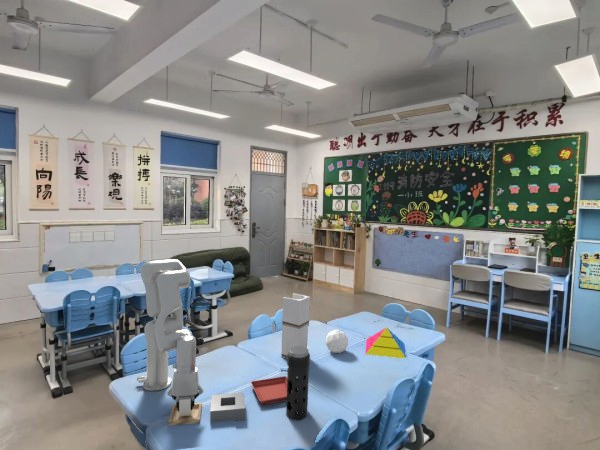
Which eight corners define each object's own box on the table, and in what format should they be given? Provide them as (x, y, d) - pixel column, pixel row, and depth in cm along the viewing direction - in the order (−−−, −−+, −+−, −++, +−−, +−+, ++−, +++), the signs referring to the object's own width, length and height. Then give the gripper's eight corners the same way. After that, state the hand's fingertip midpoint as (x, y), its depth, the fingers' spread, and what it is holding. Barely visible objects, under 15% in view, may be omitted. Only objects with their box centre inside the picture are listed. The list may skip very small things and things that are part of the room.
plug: (179, 416, 146) (179, 397, 145) (180, 409, 150) (180, 391, 150) (190, 415, 147) (190, 396, 146) (191, 408, 151) (191, 390, 150)
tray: (168, 427, 141) (168, 422, 141) (172, 409, 153) (172, 404, 153) (199, 424, 144) (199, 419, 143) (201, 406, 155) (201, 402, 155)
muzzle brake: (300, 404, 160) (281, 412, 153) (302, 343, 157) (282, 348, 151) (314, 414, 152) (294, 423, 146) (316, 350, 150) (296, 357, 144)
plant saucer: (250, 387, 173) (250, 381, 173) (285, 381, 179) (286, 375, 179) (259, 408, 156) (259, 401, 156) (298, 401, 162) (298, 394, 162)
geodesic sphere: (335, 334, 227) (329, 321, 220) (355, 340, 219) (349, 326, 212) (325, 353, 219) (318, 340, 211) (345, 360, 211) (339, 347, 203)
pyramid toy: (407, 361, 208) (409, 337, 206) (364, 355, 213) (365, 332, 212) (404, 344, 232) (406, 322, 231) (365, 339, 237) (366, 318, 236)
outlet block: (210, 423, 144) (210, 411, 144) (211, 406, 156) (211, 394, 156) (245, 419, 147) (245, 408, 147) (243, 403, 159) (244, 392, 159)
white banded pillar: (308, 355, 209) (310, 296, 206) (298, 362, 200) (300, 300, 197) (291, 350, 215) (293, 293, 212) (281, 357, 206) (283, 297, 203)
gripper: (162, 372, 141) (162, 416, 143) (206, 369, 145) (205, 412, 146) (165, 363, 149) (165, 405, 150) (207, 361, 152) (206, 402, 154)
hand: (185, 408), depth 148 cm, fingers closed on plug, 4 cm apart
